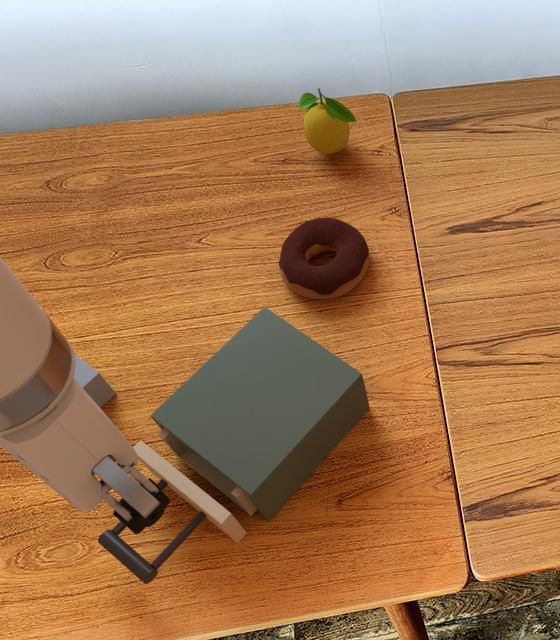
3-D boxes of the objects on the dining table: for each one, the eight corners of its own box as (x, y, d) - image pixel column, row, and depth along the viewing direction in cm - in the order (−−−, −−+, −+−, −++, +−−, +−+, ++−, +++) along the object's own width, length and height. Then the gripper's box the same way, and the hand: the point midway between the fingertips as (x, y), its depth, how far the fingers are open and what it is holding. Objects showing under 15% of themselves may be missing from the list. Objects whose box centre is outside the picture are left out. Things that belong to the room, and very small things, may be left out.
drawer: (178, 610, 66) (155, 596, 61) (91, 533, 69) (63, 514, 64) (336, 432, 75) (328, 407, 70) (253, 372, 78) (239, 344, 74)
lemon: (362, 162, 95) (353, 100, 87) (317, 174, 94) (303, 113, 86) (346, 126, 99) (336, 63, 90) (302, 138, 97) (288, 75, 89)
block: (80, 426, 76) (61, 406, 72) (51, 401, 77) (30, 381, 73) (116, 393, 78) (99, 373, 74) (87, 370, 79) (69, 349, 75)
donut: (299, 317, 83) (293, 297, 80) (269, 252, 88) (262, 231, 84) (384, 283, 86) (381, 262, 82) (351, 222, 90) (347, 200, 87)
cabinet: (269, 522, 71) (250, 495, 65) (176, 447, 75) (149, 415, 68) (370, 408, 78) (362, 373, 71) (279, 344, 81) (264, 306, 75)
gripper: (-159, 331, 43) (-9, 450, 58) (36, 508, 38) (147, 590, 53) (-40, 248, 47) (73, 380, 61) (153, 401, 42) (227, 506, 56)
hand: (107, 477), depth 57 cm, fingers open, 9 cm apart
